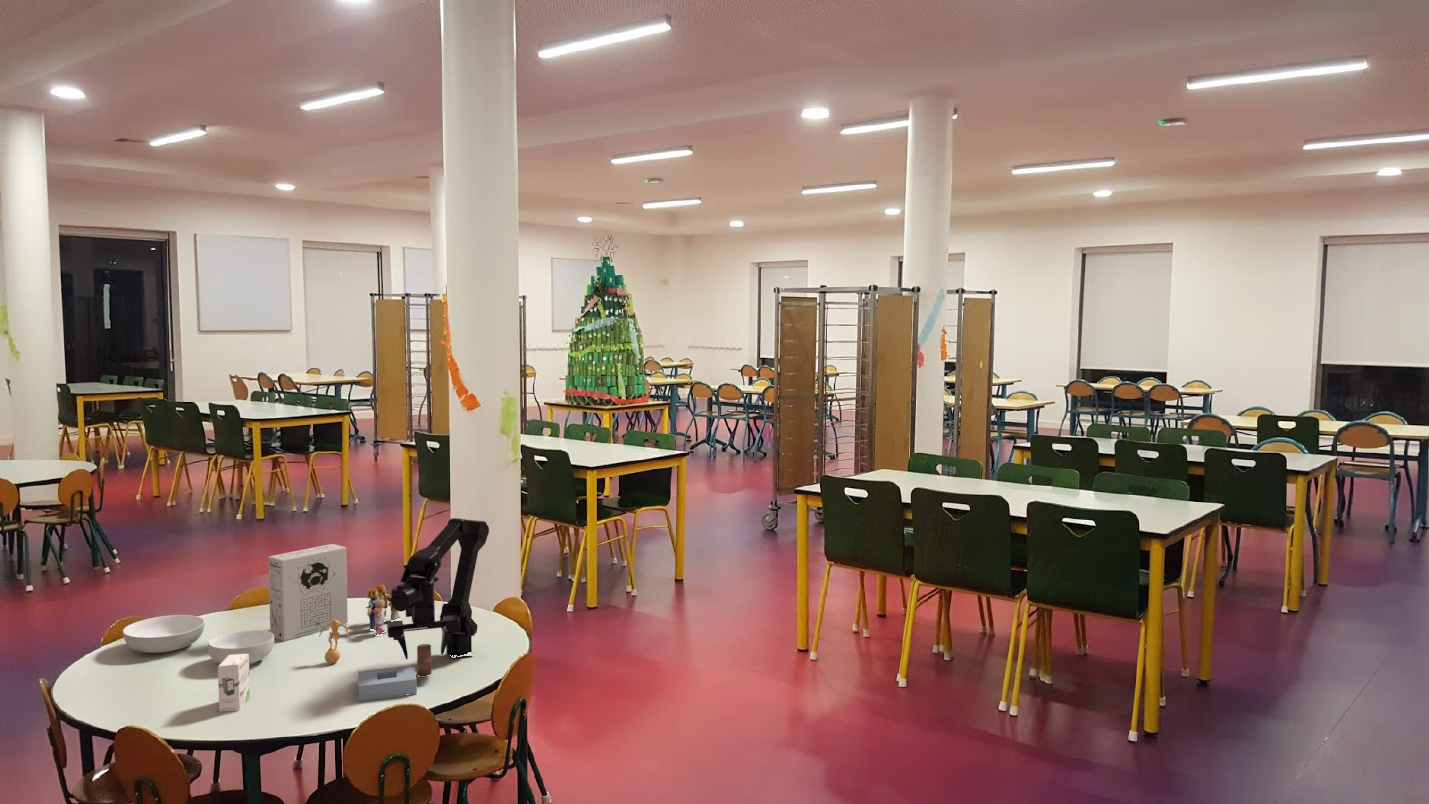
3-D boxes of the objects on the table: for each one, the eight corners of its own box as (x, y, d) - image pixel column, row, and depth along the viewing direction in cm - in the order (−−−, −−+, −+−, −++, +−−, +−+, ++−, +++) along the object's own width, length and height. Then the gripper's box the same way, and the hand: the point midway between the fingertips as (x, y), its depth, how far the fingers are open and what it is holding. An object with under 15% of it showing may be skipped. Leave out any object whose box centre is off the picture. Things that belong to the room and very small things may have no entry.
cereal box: (334, 619, 307) (332, 543, 305) (348, 624, 303) (346, 546, 301) (269, 637, 290) (267, 556, 288) (283, 642, 285) (281, 560, 283)
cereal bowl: (284, 662, 268) (284, 638, 267) (222, 678, 256) (221, 652, 255) (260, 648, 279) (259, 625, 279) (199, 662, 267) (198, 638, 267)
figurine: (314, 665, 266) (313, 623, 265) (323, 657, 272) (322, 616, 271) (344, 665, 266) (343, 623, 265) (352, 658, 272) (351, 617, 271)
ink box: (230, 698, 242) (228, 653, 241) (250, 697, 243) (249, 652, 242) (218, 712, 234) (217, 665, 233) (240, 711, 235) (238, 664, 234)
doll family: (381, 638, 289) (380, 596, 288) (350, 638, 289) (349, 595, 288) (405, 617, 310) (404, 577, 309) (375, 616, 310) (375, 577, 309)
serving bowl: (131, 666, 264) (130, 642, 264) (117, 646, 280) (116, 623, 279) (213, 649, 278) (213, 626, 277) (195, 632, 294) (195, 610, 293)
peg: (430, 671, 262) (430, 643, 262) (431, 676, 259) (431, 647, 258) (417, 673, 261) (416, 644, 260) (418, 677, 258) (417, 649, 257)
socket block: (413, 679, 256) (413, 664, 256) (416, 694, 246) (416, 679, 246) (358, 686, 251) (357, 671, 251) (359, 701, 241) (358, 686, 241)
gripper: (455, 589, 269) (456, 643, 271) (385, 596, 262) (386, 651, 264) (460, 600, 259) (460, 656, 260) (387, 607, 252) (388, 664, 253)
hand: (424, 656), depth 260 cm, fingers open, 9 cm apart
